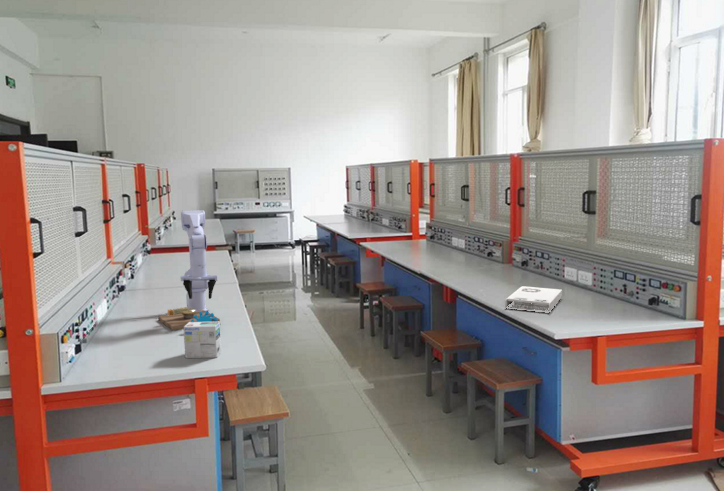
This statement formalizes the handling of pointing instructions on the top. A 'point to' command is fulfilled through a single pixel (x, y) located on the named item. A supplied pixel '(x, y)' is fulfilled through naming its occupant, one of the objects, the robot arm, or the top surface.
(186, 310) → the lever handle
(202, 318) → the gear
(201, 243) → the robot arm
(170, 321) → the board
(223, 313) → the top surface
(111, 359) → the top surface
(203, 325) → the light bulb box
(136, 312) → the top surface
